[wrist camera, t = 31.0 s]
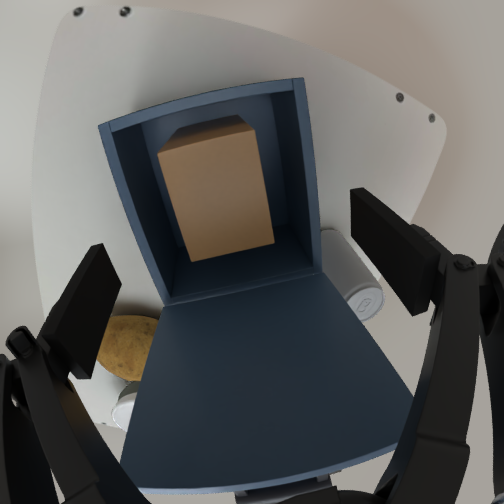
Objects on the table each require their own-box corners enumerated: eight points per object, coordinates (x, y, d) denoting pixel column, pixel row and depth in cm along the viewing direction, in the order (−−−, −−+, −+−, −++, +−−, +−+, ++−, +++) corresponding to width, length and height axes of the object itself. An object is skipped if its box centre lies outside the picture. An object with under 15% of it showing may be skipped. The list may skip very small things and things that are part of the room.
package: (237, 114, 27) (254, 129, 16) (252, 187, 31) (275, 243, 21) (177, 128, 26) (156, 153, 16) (197, 200, 31) (191, 262, 21)
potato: (178, 402, 36) (188, 371, 31) (87, 380, 33) (78, 344, 28) (184, 350, 44) (194, 312, 39) (103, 330, 41) (101, 289, 36)
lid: (114, 485, 9) (179, 530, 12) (432, 425, 9) (400, 487, 12) (163, 306, 26) (190, 372, 29) (324, 271, 26) (329, 343, 29)
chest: (131, 113, 26) (97, 125, 17) (275, 80, 26) (304, 77, 17) (174, 251, 35) (165, 307, 26) (295, 224, 35) (322, 273, 26)
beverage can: (348, 233, 36) (394, 290, 26) (332, 263, 39) (369, 326, 28) (317, 222, 35) (358, 282, 25) (301, 255, 37) (333, 321, 27)
